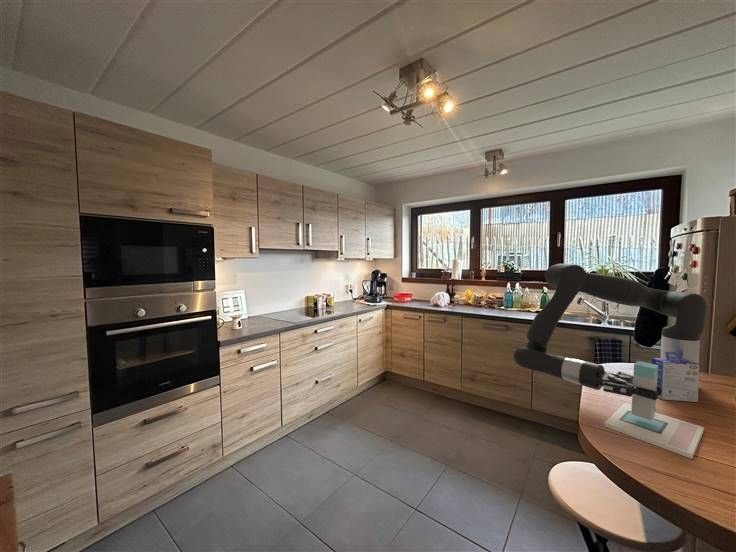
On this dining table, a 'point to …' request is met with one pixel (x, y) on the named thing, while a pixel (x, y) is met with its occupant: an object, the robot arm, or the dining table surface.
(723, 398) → the dining table surface
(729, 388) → the dining table surface
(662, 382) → the ink cartridge box
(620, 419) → the picture board
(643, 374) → the teal-capped square post
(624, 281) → the robot arm
